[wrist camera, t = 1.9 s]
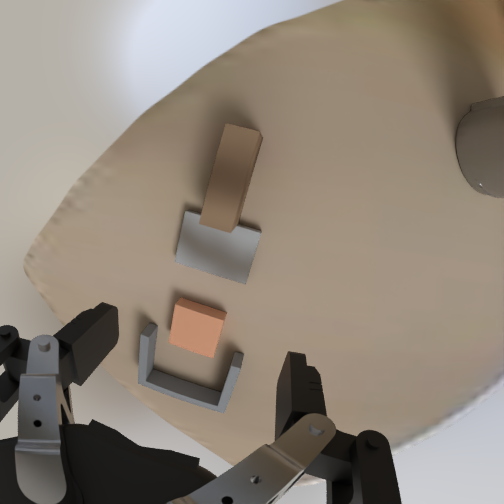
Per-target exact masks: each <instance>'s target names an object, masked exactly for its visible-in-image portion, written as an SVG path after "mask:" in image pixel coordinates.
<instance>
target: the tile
mask: <svg viewBox="0 0 504 504" xmlns="http://www.w3.org/2000/svg"><path fill="white" fill-rule="evenodd" d="M226 314H227V313H226V312H223V311H220V310H217V309H214V308H211V307H208V306H205V305H202V304H199V303H196V302H193V301H190V300H187V299H184V298H181V297H180V299H179V300H178V301H177V303H176V304H175V309H174V314H173V320H172V326H171V332H170V338H169V343H170V344H173V345H176V346H179V347H181V348H184V349H187V350H190V351H193V352H196V353H199V354H202V355H205V356H208V357H211V358H213V357H214V354H215V352H216V349H217V345H218V342H219V338H220V335H221V331H222V328H223V324H224V321H225V318H226Z"/></svg>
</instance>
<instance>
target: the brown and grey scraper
mask: <svg viewBox="0 0 504 504" xmlns="http://www.w3.org/2000/svg"><path fill="white" fill-rule="evenodd" d="M262 139H263V137H262V135H261V133H260V131H256V130H252V129H248V128H244V127H240V126H236V125H232V124H227V123H226V124H225V127H224V131H223V134H222V138H221V141H220V144H219V148H218V152H217V155H216V159H215V162H214V166H213V170H212V173H211V177H210V181H209V185H208V189H207V193H206V197H205V200H204V204H203V209H202V213H199V212H195V211H192V210H187V211H185V215H184V219H183V224H182V228H181V233H180V238H179V243H178V248H177V253H176V258H175V262H176V263H179V264H182V265H185V266H188V267H191V268H195V269H198V270H201V271H204V272H207V273H210V274H213V275H217V276H220V277H223V278H226V279H230V280H233V281H236V282H239V283H243V284H246V282H247V278H248V275H249V272H250V268H251V265H252V262H253V259H254V255H255V252H256V249H257V245H258V242H259V239H260V235H261V232H262V231H260V230H257V229H254V228H250V227H247V226H243V225H240V224H238V223H239V219H240V216H241V212H242V209H243V205H244V202H245V198H246V194H247V191H248V187H249V184H250V180H251V177H252V173H253V170H254V167H255V163H256V160H257V156H258V153H259V149H260V146H261V143H262Z"/></svg>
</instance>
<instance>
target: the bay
mask: <svg viewBox="0 0 504 504" xmlns="http://www.w3.org/2000/svg"><path fill="white" fill-rule="evenodd" d="M157 328H158V326H157V325H154V324H152V323H149V324H148V326H147V327H146V328H145V329H144V331H143V332H142V333H141V336H140V351H139V370H138V383H139V384H141V385H143V386H146V387H148V388H151V389H153V390H156V391H158V392H161V393H163V394H166V395H169V396H171V397H174V398H177V399H180V400H183V401H186V402H189V403H192V404H195V405H198V406H201V407H204V408H207V409H211V410H214V411H217V412H221V413H224V412H225V410H226V407H227V404H228V402H229V399H230V396H231V394H232V391H233V388H234V386H235V383H236V380H237V378H238V375H239V372H240V369H241V365H242V361H243V356H244V354H241V353H238V352H235V353H234V356H233V359H232V362H231V365H230V368H229V371H228V374H227V377H226V380H225V383H224V386H223V389H222V392H219V391H215V390H212V389H209V388H205V387H202V386H199V385H196V384H193V383H190V382H187V381H184V380H181V379H179V378H176V377H173V376H170V375H168V374H165V373H162V372H160V371H157V370H155V369H153V365H154V355H155V345H156V337H157Z"/></svg>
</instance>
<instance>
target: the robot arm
mask: <svg viewBox="0 0 504 504" xmlns="http://www.w3.org/2000/svg"><path fill="white" fill-rule="evenodd" d="M456 148H457V156H458V160H459V164H460V167H461V169H462V172H463V174H464V176H465V178H466V180H467V181H468V182H469V184H470V185H471V186H472V187H473V188H474V189H475V190H476V191H478V192H480V193H482V194H485V195H490V196H493V197H497V198H504V96H502V97H498V98H494V99H489V100H485V101H482V102H478V103H474V104H472V108H471V111H470V112H469V113H468V114H467V115H465V116H464V117H463V119H462V120H461V122H460V124H459V127H458V131H457V136H456ZM118 338H119V325H118V309H117V307H115V306H113V305H110V304H107V303H104V302H102V303H100V304H99V305H98V306H96V307H95V308H94V309H89V310H86V311H83V312H81V313H80V314H79V315H78V316H76V318H74V319H73V320H72V321H71V322H69V323H68V324H67V325H65V326H64V327H63V328H62V329H61V330H60V331H58V332H57V333H56V334H55V335H53V336H50V335H40V336H37V337H35V338H34V339H32V341H30V340H26V339H22V338H20V337H19V333H18V330H17V329H16V328H15V327H13V326H10V325H4V326H1V327H0V366H1V365H2V364H3V365H4V368H5V371H4V372H3V373H2V375H0V422H1V420H2V419H3V418H4V417H5V415H6V414H7V413H8V412H9V411H10V409H11V408H12V407H13V406H14V404H15V403H16V402H17V401H18V436H17V437H13V438H8V439H3V440H0V504H275V503H276V502H277V501H278V500H279V499H280V498H281V497H282V496H283V495H284V494H285V493H286V492H287V491H289V490H290V489H291V487H293V486H294V485H295V484H296V483H297V482H298V481H299V480H300V479H301V478H302V477H303V476H304V475H305V474H309V475H312V476H315V477H319V478H322V479H325V480H326V483H327V504H401V498H400V492H399V487H398V482H397V477H396V472H395V467H394V463H393V459H392V454H391V450H390V445H389V442H388V440H387V438H386V437H385V436H384V435H383V434H381V433H379V432H377V431H374V430H366V431H363V432H361V433H360V434H359V435H358V436H354V435H350V434H347V433H344V432H341V431H339V430H337V429H336V427H335V424H334V423H333V421H332V420H331V419H329V418H328V417H327V414H326V407H325V401H324V395H323V392H322V391H323V389H322V385H321V384H322V383H321V377H320V374H319V372H318V371H317V370H316V368H315V367H313V366H307V363H306V355H305V354H302V353H296V352H290V351H289V352H288V353H287V355H286V358H285V361H284V364H283V367H282V370H281V373H280V375H279V379H278V383H277V392H276V422H275V441H274V442H273V443H272V444H271V445H267V444H265V445H263V446H261V447H260V448H258V449H257V450H256V451H254V452H253V453H252V454H250V455H249V456H248V457H246V458H245V459H244V460H242V461H241V462H239V463H238V464H237V465H235V466H234V467H232V468H231V469H229V470H228V471H226V472H225V473H223V474H222V475H220V476H219V477H216V476H215V475H214V474H213V473H211V472H210V471H208V470H207V469H205V468H203V467H201V466H199V460H200V458H197V457H193V456H189V455H185V454H182V453H178V452H175V451H172V450H163V449H155V448H148V447H142V446H139V445H137V444H136V443H134V442H133V441H131V440H129V439H128V438H127V437H125V436H124V435H122V434H121V433H119V432H118V431H117V430H115V429H112V428H110V427H108V426H105V425H104V424H101V423H99V422H97V421H95V420H93V419H92V421H91V422H90V423H89V425H84V424H75V422H74V417H73V409H72V400H71V391H70V386H69V385H70V384H71V383H72V382H74V383H76V384H77V385H79V386H81V385H82V384H83V383H84V382H85V380H87V378H88V377H89V376H90V375H91V373H92V372H93V371H94V370H95V369H96V368H97V366H98V365H99V364H100V363H101V362H102V361H103V359H104V358H105V357H106V356H107V355H108V353H109V352H110V351H111V350H112V349H113V348H114V347H115V345H116V344H117V341H118Z"/></svg>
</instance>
